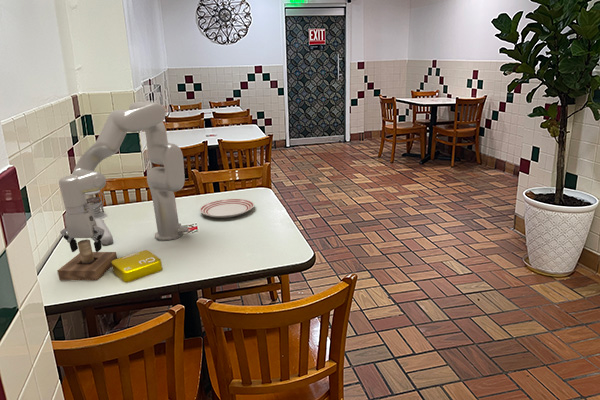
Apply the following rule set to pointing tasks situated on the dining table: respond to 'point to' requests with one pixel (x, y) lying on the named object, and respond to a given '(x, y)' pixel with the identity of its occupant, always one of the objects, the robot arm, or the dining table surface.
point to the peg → (85, 252)
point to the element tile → (136, 266)
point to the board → (87, 267)
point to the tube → (107, 235)
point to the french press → (96, 205)
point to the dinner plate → (226, 208)
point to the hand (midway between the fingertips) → (86, 250)
